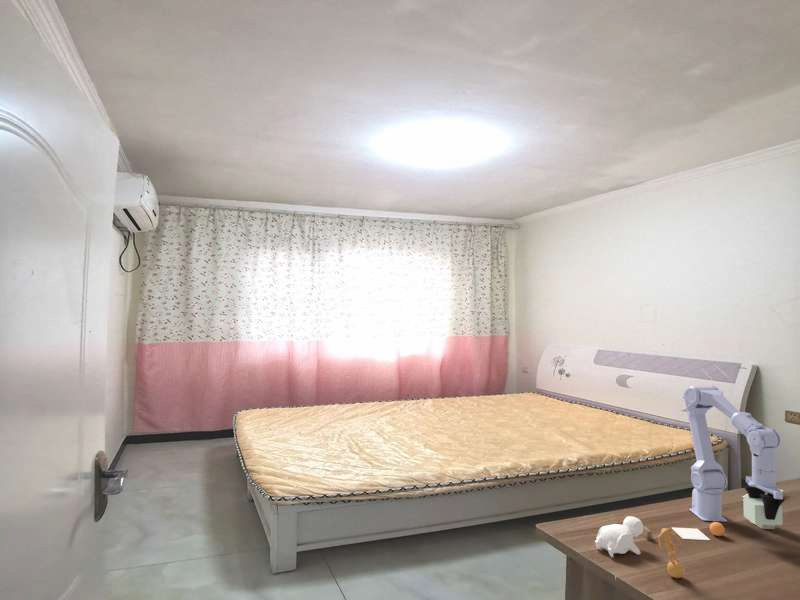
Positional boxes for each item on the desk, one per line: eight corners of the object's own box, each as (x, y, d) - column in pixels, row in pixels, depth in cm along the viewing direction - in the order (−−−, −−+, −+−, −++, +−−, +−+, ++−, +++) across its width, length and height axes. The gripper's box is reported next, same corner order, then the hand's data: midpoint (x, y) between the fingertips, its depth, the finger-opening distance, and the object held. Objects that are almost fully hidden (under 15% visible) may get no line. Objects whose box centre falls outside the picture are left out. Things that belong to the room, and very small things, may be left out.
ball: (707, 532, 159) (707, 519, 159) (720, 533, 158) (720, 520, 158) (713, 538, 155) (713, 524, 155) (727, 538, 154) (727, 525, 154)
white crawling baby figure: (619, 570, 140) (655, 542, 146) (611, 544, 139) (647, 516, 145) (596, 556, 148) (631, 530, 153) (588, 531, 147) (624, 505, 152)
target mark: (671, 527, 162) (671, 527, 162) (697, 529, 161) (697, 528, 161) (682, 539, 154) (682, 538, 154) (710, 540, 153) (710, 539, 153)
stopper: (632, 523, 165) (632, 516, 165) (636, 523, 164) (636, 516, 165) (647, 539, 153) (647, 531, 153) (651, 540, 153) (651, 532, 153)
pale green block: (743, 516, 154) (743, 498, 154) (770, 517, 153) (769, 498, 153) (755, 524, 148) (754, 505, 148) (782, 525, 147) (782, 505, 148)
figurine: (672, 584, 127) (672, 536, 128) (651, 573, 133) (651, 527, 133) (693, 577, 131) (693, 530, 131) (672, 566, 136) (672, 522, 137)
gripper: (735, 461, 159) (735, 504, 158) (764, 476, 144) (764, 524, 144) (759, 462, 158) (759, 506, 158) (790, 477, 144) (790, 525, 143)
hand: (763, 514), depth 151 cm, fingers closed on pale green block, 6 cm apart
